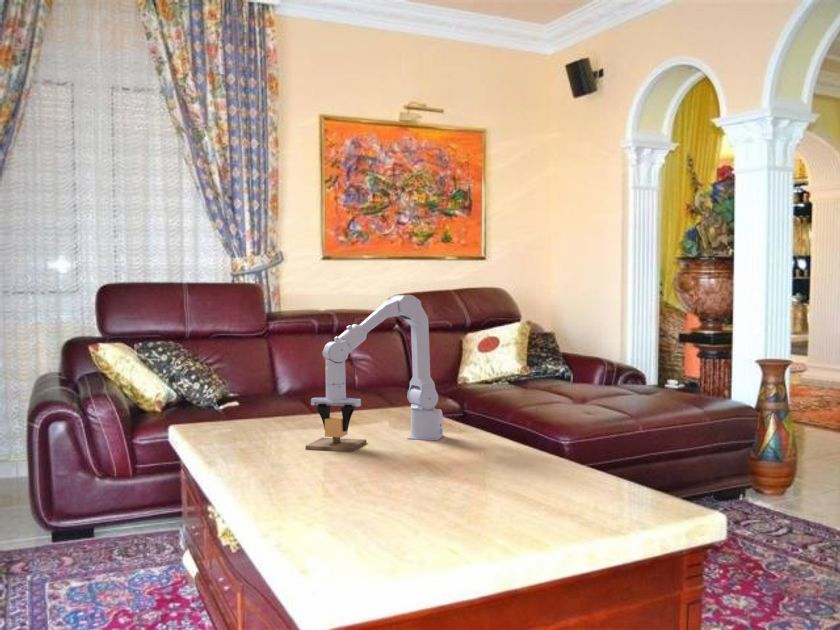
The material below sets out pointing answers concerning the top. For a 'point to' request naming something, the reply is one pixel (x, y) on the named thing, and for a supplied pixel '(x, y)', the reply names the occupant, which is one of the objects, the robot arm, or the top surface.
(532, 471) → the top surface
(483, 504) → the top surface
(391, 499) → the top surface
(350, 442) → the brown rectangular slab
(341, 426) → the orange cube
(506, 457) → the top surface
